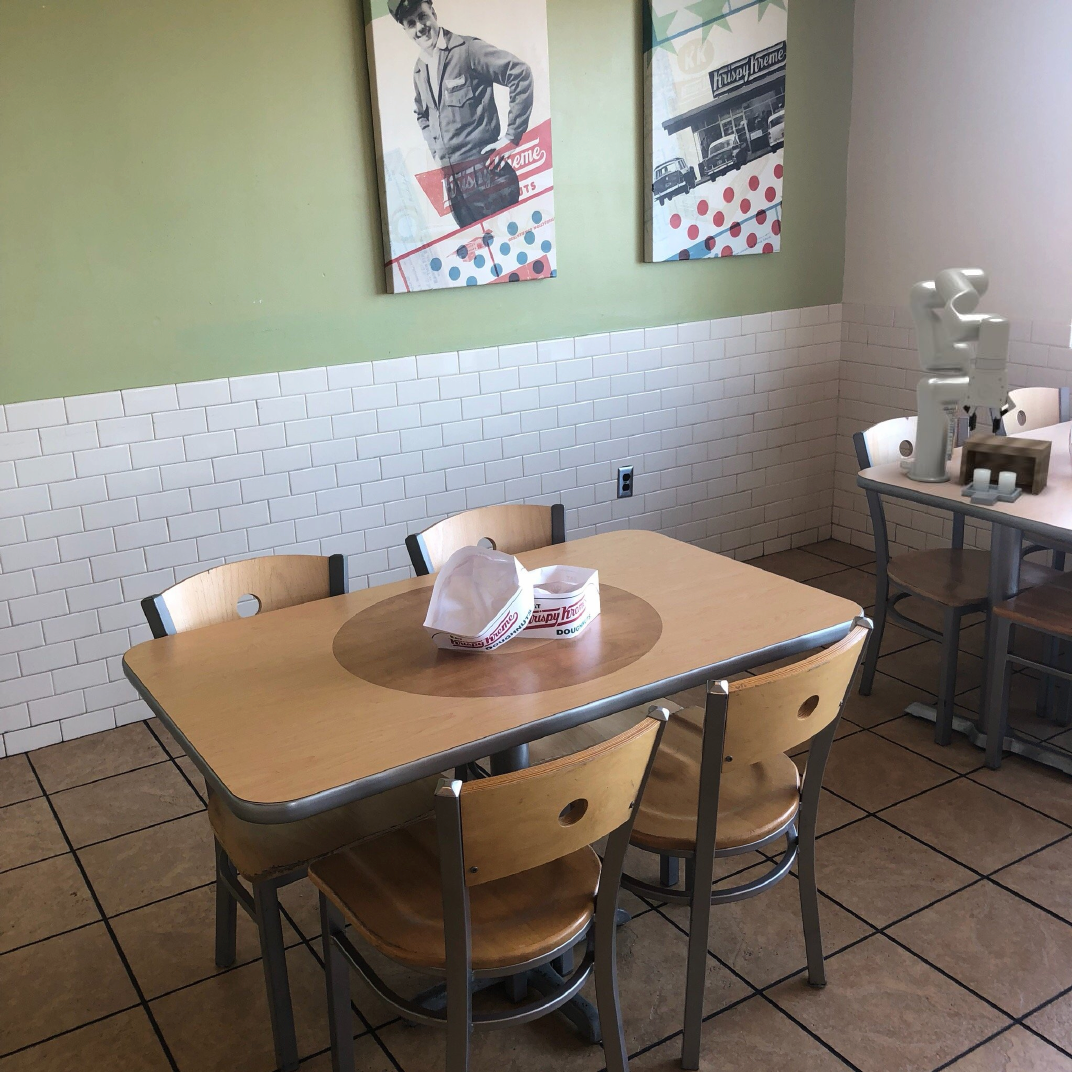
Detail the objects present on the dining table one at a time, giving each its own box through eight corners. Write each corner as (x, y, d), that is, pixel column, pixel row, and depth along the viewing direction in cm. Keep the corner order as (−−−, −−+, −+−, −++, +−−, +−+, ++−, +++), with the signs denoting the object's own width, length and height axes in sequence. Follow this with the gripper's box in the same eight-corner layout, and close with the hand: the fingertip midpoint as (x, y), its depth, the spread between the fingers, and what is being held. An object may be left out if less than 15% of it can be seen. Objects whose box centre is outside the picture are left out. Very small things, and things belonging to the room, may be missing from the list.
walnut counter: (958, 484, 318) (962, 441, 314) (969, 476, 327) (973, 433, 323) (1037, 495, 305) (1042, 449, 301) (1046, 485, 314) (1052, 441, 310)
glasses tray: (955, 500, 302) (957, 478, 300) (971, 487, 314) (973, 466, 312) (1007, 508, 294) (1010, 485, 292) (1021, 494, 306) (1023, 472, 304)
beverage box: (928, 458, 349) (934, 392, 342) (931, 451, 358) (937, 386, 352) (950, 460, 346) (957, 393, 339) (953, 452, 356) (959, 387, 349)
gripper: (953, 364, 283) (947, 430, 289) (1021, 368, 273) (1013, 437, 279) (961, 360, 289) (955, 425, 294) (1028, 364, 279) (1020, 431, 285)
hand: (983, 430), depth 287 cm, fingers open, 5 cm apart
